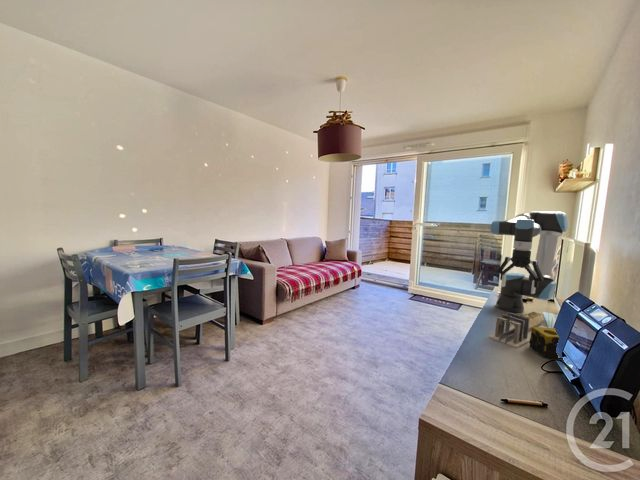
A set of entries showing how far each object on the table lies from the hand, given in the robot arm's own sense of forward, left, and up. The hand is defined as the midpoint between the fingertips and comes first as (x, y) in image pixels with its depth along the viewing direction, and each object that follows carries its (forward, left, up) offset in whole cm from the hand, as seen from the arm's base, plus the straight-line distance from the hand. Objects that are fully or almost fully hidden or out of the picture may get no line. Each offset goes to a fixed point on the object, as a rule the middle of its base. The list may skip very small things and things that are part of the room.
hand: (517, 289), depth 143 cm
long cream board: (+1, +4, -22) cm, 22 cm away
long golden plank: (-7, +4, -19) cm, 20 cm away
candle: (+13, +19, -22) cm, 32 cm away
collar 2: (+7, +4, -22) cm, 23 cm away
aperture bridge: (+17, +4, -22) cm, 28 cm away
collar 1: (+13, +4, -22) cm, 26 cm away
